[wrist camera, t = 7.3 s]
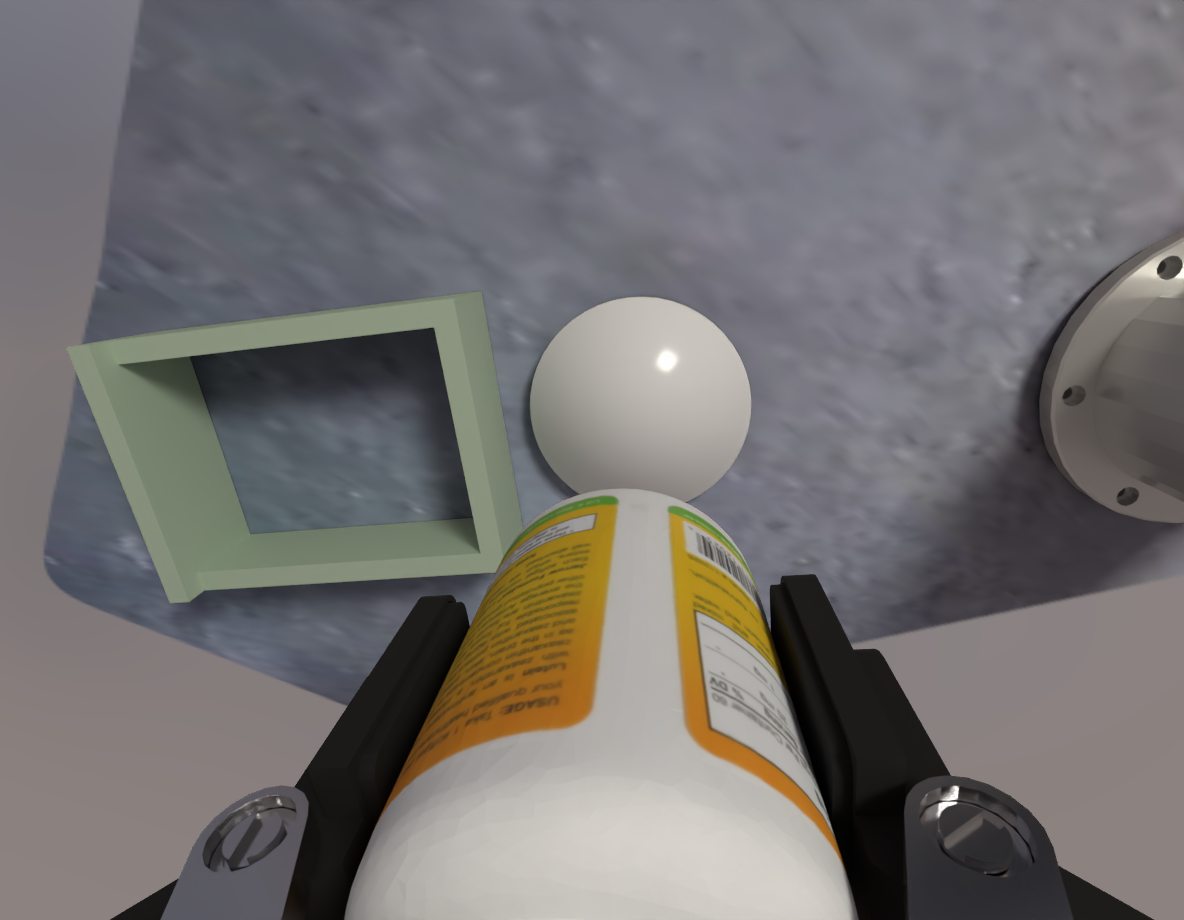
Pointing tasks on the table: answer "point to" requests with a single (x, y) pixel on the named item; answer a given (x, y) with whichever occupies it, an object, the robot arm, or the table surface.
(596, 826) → the supplement bottle
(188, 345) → the frame
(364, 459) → the table surface
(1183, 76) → the table surface
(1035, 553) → the table surface
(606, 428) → the saucer
